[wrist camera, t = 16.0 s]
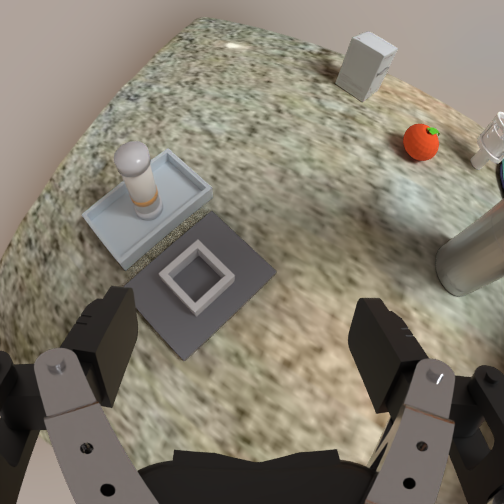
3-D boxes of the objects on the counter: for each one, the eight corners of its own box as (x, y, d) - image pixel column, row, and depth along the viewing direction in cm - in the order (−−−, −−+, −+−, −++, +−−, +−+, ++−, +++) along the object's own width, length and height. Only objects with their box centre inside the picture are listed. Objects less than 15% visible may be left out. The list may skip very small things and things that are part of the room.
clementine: (417, 136, 56) (433, 113, 49) (437, 163, 54) (455, 142, 47) (390, 141, 54) (406, 116, 48) (411, 171, 52) (429, 147, 46)
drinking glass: (491, 175, 55) (530, 136, 42) (476, 179, 54) (517, 137, 40) (475, 149, 58) (510, 108, 44) (458, 152, 56) (495, 107, 42)
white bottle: (152, 191, 45) (136, 135, 34) (168, 208, 44) (155, 153, 33) (130, 208, 44) (107, 155, 33) (146, 226, 43) (125, 175, 32)
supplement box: (362, 103, 58) (384, 56, 46) (334, 83, 59) (350, 36, 48) (378, 91, 60) (399, 48, 48) (351, 73, 62) (368, 29, 50)
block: (211, 215, 45) (211, 201, 42) (275, 274, 42) (280, 264, 39) (123, 291, 40) (114, 283, 36) (184, 361, 37) (181, 359, 34)
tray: (169, 158, 48) (167, 148, 46) (212, 197, 46) (212, 187, 44) (87, 223, 43) (81, 214, 40) (125, 271, 41) (120, 264, 38)
